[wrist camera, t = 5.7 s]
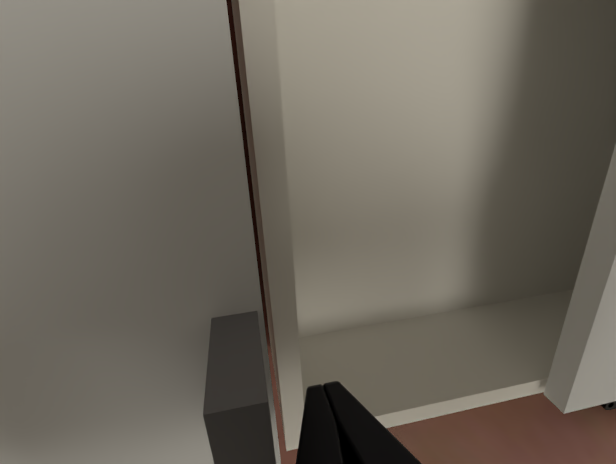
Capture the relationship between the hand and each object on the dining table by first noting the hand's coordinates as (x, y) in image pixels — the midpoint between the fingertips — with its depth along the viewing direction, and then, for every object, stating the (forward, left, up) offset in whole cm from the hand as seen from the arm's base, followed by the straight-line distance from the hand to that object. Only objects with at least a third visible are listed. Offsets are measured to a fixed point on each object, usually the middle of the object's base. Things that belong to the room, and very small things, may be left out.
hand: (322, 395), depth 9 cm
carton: (+4, -10, -9) cm, 14 cm away
